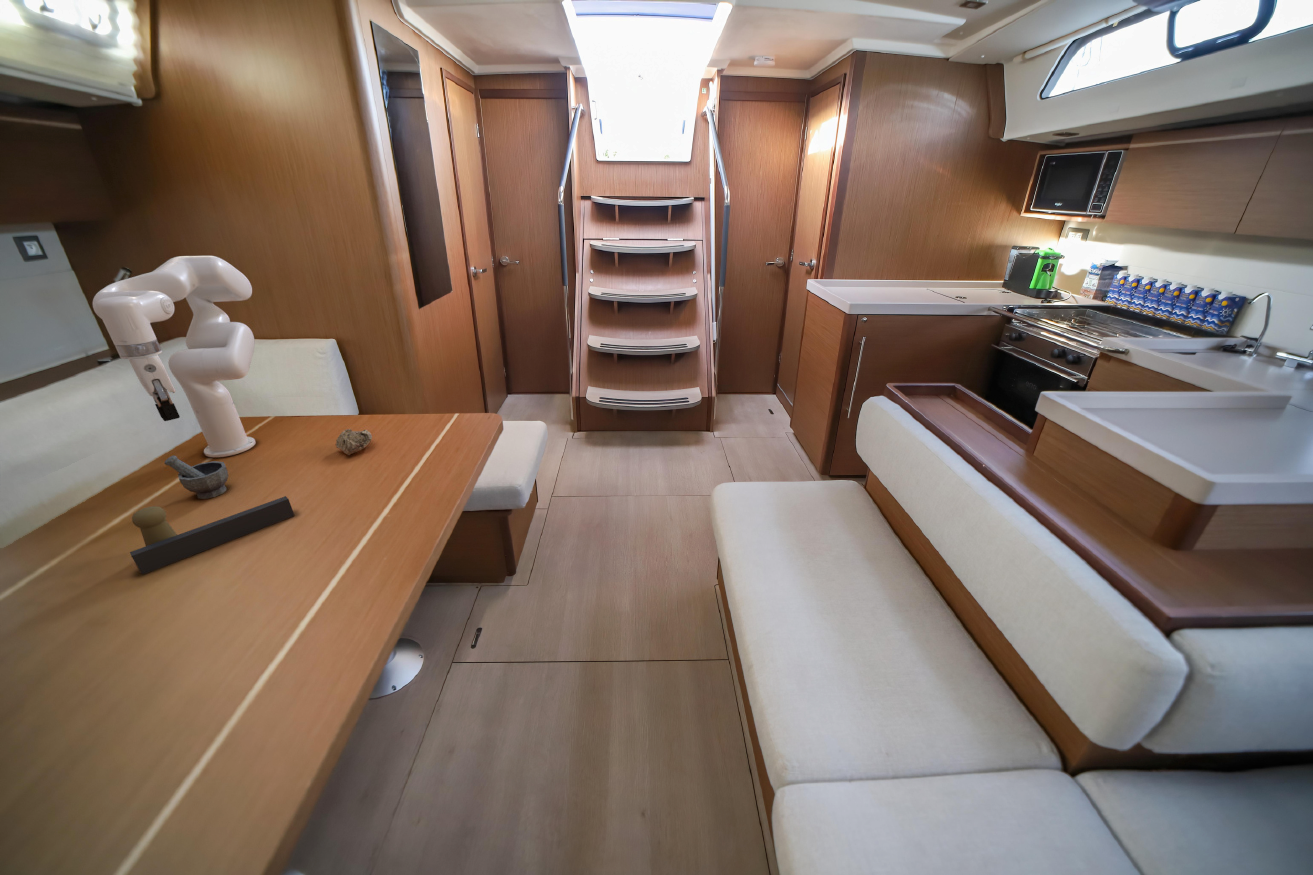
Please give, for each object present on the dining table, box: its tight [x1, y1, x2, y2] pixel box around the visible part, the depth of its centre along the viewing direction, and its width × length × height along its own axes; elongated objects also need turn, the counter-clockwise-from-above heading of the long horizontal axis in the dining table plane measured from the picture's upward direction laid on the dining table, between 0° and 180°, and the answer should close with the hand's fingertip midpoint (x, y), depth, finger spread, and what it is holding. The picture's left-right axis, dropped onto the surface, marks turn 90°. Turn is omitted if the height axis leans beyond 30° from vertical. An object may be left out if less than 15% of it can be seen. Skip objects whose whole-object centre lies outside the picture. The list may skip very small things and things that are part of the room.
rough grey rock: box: [335, 428, 373, 456], centre depth 155 cm, size 11×7×10 cm
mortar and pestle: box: [163, 455, 229, 500], centre depth 130 cm, size 11×9×12 cm
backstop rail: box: [129, 495, 295, 576], centre depth 113 cm, size 2×28×5 cm, turn 140°
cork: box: [131, 505, 178, 546], centre depth 109 cm, size 6×6×11 cm
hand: (170, 417), depth 130 cm, fingers closed
